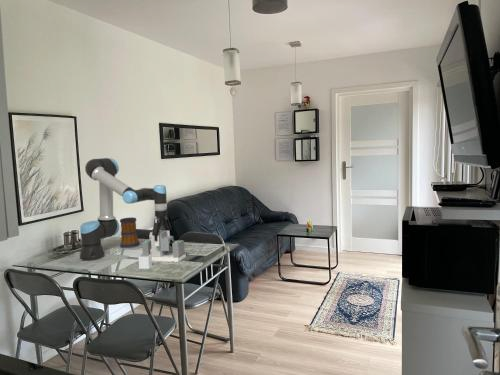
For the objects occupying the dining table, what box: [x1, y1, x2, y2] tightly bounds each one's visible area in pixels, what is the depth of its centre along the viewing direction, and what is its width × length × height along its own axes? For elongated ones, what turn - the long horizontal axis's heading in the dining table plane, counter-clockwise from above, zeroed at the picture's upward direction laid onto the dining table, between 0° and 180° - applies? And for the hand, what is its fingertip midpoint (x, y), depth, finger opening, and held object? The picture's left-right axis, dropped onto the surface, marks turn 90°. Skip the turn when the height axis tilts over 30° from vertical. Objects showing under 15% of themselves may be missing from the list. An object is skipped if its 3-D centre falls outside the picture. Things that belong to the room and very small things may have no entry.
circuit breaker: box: [149, 229, 175, 257], centre depth 241 cm, size 8×14×15 cm, turn 77°
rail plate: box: [141, 238, 187, 263], centre depth 242 cm, size 25×11×12 cm, turn 74°
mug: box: [119, 216, 141, 249], centre depth 281 cm, size 19×14×20 cm
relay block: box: [138, 253, 153, 270], centre depth 225 cm, size 6×5×8 cm
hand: (162, 243), depth 242 cm, fingers open, 13 cm apart
